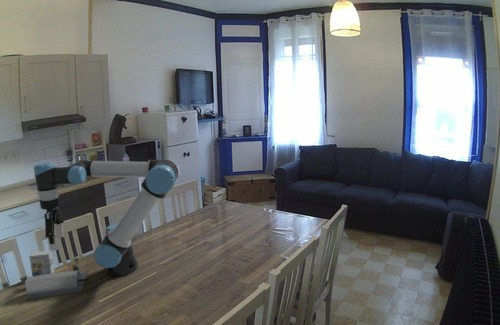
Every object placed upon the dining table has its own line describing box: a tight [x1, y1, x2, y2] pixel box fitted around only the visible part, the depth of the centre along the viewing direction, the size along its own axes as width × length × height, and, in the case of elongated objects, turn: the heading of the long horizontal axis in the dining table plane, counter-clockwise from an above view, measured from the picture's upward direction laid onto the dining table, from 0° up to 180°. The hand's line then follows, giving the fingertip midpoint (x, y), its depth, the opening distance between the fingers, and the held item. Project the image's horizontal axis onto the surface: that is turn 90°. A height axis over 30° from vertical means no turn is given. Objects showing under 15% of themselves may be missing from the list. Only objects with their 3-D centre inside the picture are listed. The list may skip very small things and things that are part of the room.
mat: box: [25, 280, 86, 301], centre depth 153 cm, size 22×8×1 cm, turn 105°
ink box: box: [28, 249, 55, 276], centre depth 165 cm, size 8×5×12 cm, turn 105°
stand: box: [31, 256, 89, 282], centre depth 159 cm, size 24×6×10 cm, turn 105°
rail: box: [24, 270, 79, 297], centre depth 152 cm, size 20×4×7 cm, turn 105°
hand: (57, 243), depth 151 cm, fingers open, 13 cm apart
